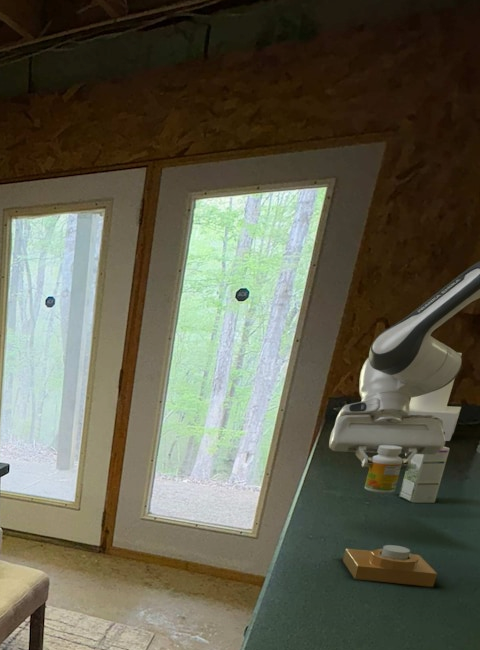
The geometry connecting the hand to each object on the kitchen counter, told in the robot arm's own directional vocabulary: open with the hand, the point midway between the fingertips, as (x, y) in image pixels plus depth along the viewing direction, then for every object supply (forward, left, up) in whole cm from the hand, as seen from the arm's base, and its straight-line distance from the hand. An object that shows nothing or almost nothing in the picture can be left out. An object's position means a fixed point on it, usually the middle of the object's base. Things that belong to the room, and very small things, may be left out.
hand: (385, 467), depth 136 cm
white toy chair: (-46, -138, -16) cm, 146 cm away
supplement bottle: (0, -1, -6) cm, 6 cm away
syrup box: (-18, -36, -16) cm, 43 cm away
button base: (+3, +25, -16) cm, 30 cm away
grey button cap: (+3, +27, -11) cm, 30 cm away
